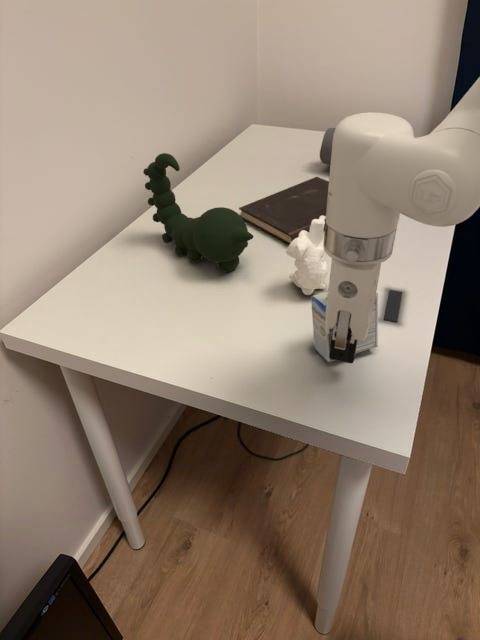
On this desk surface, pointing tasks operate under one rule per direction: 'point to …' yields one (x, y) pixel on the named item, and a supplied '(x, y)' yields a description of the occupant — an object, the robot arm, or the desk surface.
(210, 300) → the desk surface
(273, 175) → the desk surface
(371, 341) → the medicine box
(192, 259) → the toy figurine
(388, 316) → the strip
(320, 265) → the white bunny figurine
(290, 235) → the hardcover book
